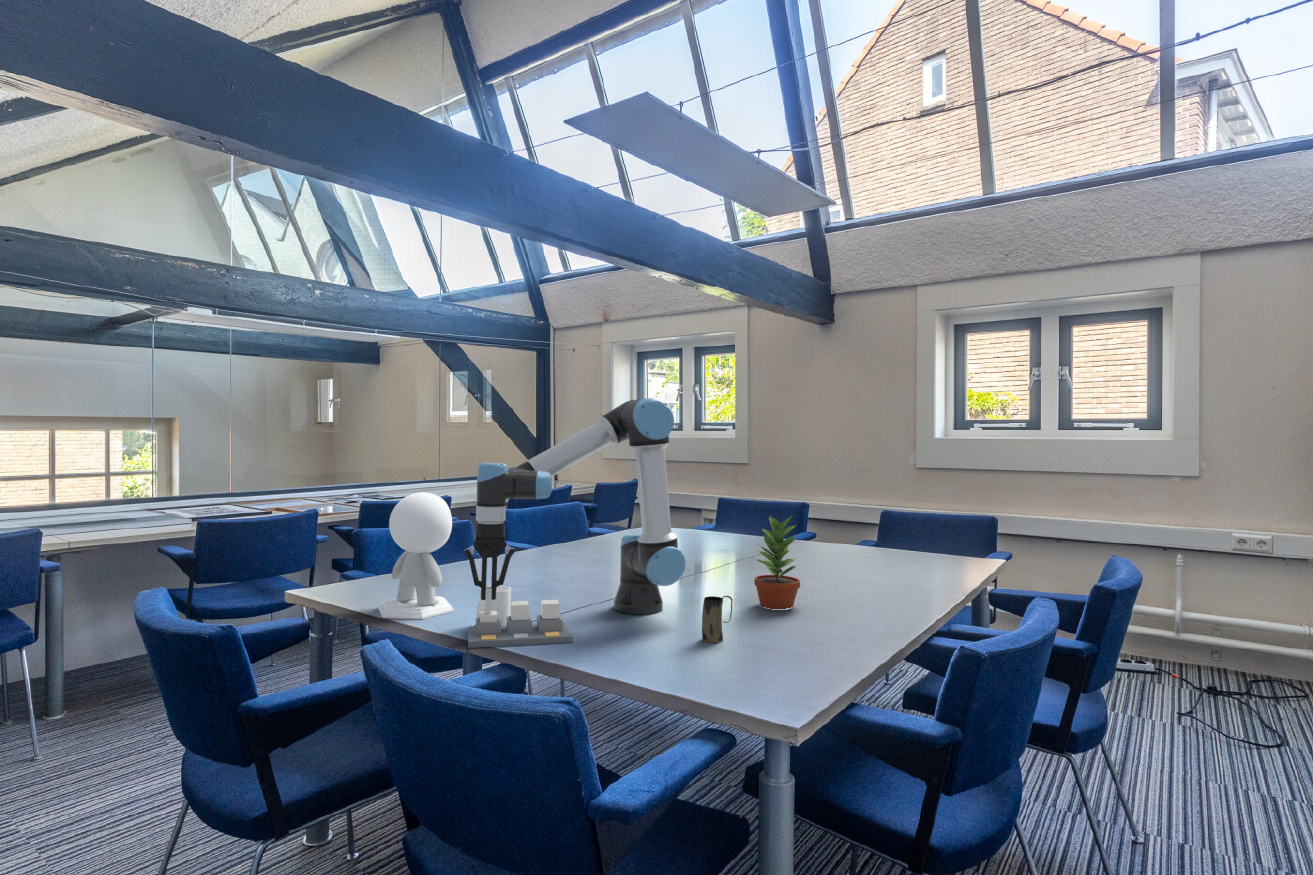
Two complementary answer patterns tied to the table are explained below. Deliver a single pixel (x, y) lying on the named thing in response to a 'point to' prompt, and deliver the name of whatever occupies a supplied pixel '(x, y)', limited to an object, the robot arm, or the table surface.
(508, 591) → the mug
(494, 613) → the button
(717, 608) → the mug
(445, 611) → the white toy figurine
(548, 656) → the table surface
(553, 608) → the button
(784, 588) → the potted plant
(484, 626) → the board
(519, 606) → the button
